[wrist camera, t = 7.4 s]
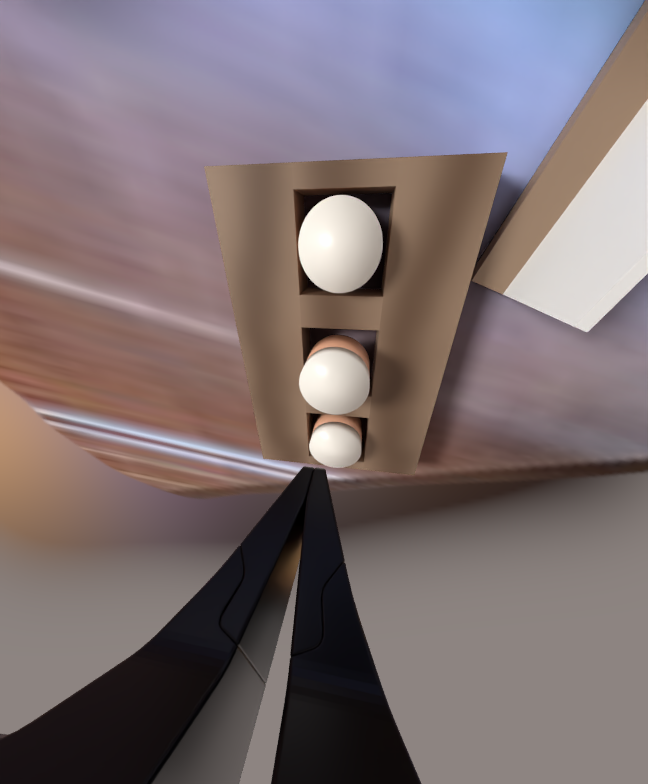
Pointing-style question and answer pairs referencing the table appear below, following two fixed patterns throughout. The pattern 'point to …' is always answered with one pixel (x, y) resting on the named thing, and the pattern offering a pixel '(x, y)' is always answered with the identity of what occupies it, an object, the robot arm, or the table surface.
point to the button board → (358, 307)
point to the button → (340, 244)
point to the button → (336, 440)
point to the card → (584, 201)
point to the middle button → (336, 375)
